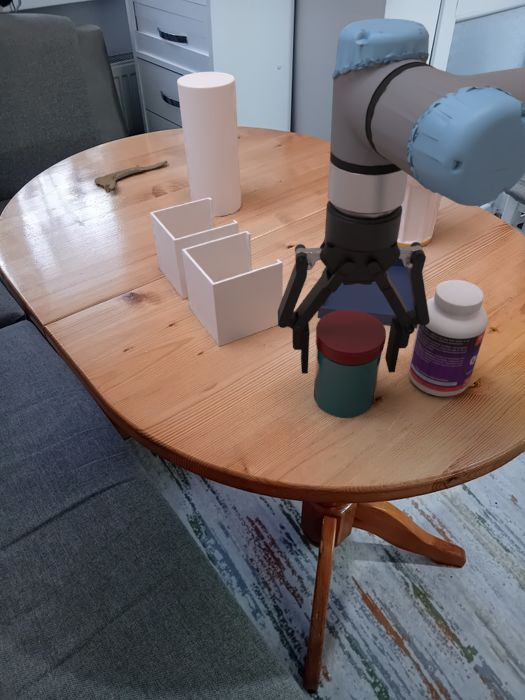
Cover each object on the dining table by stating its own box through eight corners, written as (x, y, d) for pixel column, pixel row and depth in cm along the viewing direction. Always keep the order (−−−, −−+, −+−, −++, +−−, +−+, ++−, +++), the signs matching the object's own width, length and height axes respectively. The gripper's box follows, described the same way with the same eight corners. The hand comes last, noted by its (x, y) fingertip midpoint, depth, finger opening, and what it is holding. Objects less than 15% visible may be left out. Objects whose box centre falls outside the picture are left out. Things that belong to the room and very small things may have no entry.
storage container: (159, 268, 97) (149, 212, 89) (214, 252, 100) (209, 197, 93) (218, 346, 80) (212, 284, 73) (282, 323, 84) (282, 262, 77)
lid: (383, 323, 68) (385, 311, 67) (386, 367, 62) (388, 355, 61) (317, 319, 69) (317, 307, 68) (313, 362, 63) (314, 350, 62)
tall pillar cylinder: (242, 194, 119) (236, 70, 103) (239, 216, 111) (232, 86, 95) (195, 194, 120) (181, 71, 103) (188, 217, 112) (172, 87, 95)
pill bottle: (471, 403, 70) (501, 315, 61) (408, 397, 71) (428, 309, 62) (464, 362, 76) (490, 276, 67) (406, 357, 77) (423, 271, 68)
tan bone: (84, 191, 124) (81, 182, 122) (142, 161, 137) (140, 153, 136) (113, 195, 120) (110, 186, 118) (170, 165, 133) (168, 156, 132)
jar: (372, 422, 68) (382, 360, 61) (309, 413, 69) (312, 351, 62) (375, 379, 74) (385, 317, 67) (317, 371, 75) (321, 311, 68)
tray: (416, 328, 82) (418, 317, 81) (317, 317, 85) (318, 307, 83) (415, 268, 95) (417, 258, 93) (329, 260, 97) (330, 251, 96)
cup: (400, 216, 110) (414, 129, 98) (449, 236, 103) (469, 145, 92) (365, 236, 104) (375, 145, 92) (413, 257, 97) (431, 163, 86)
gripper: (468, 183, 56) (430, 345, 71) (251, 187, 57) (257, 347, 71) (491, 216, 50) (444, 385, 65) (250, 221, 51) (257, 387, 65)
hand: (347, 365), depth 68 cm, fingers open, 10 cm apart
